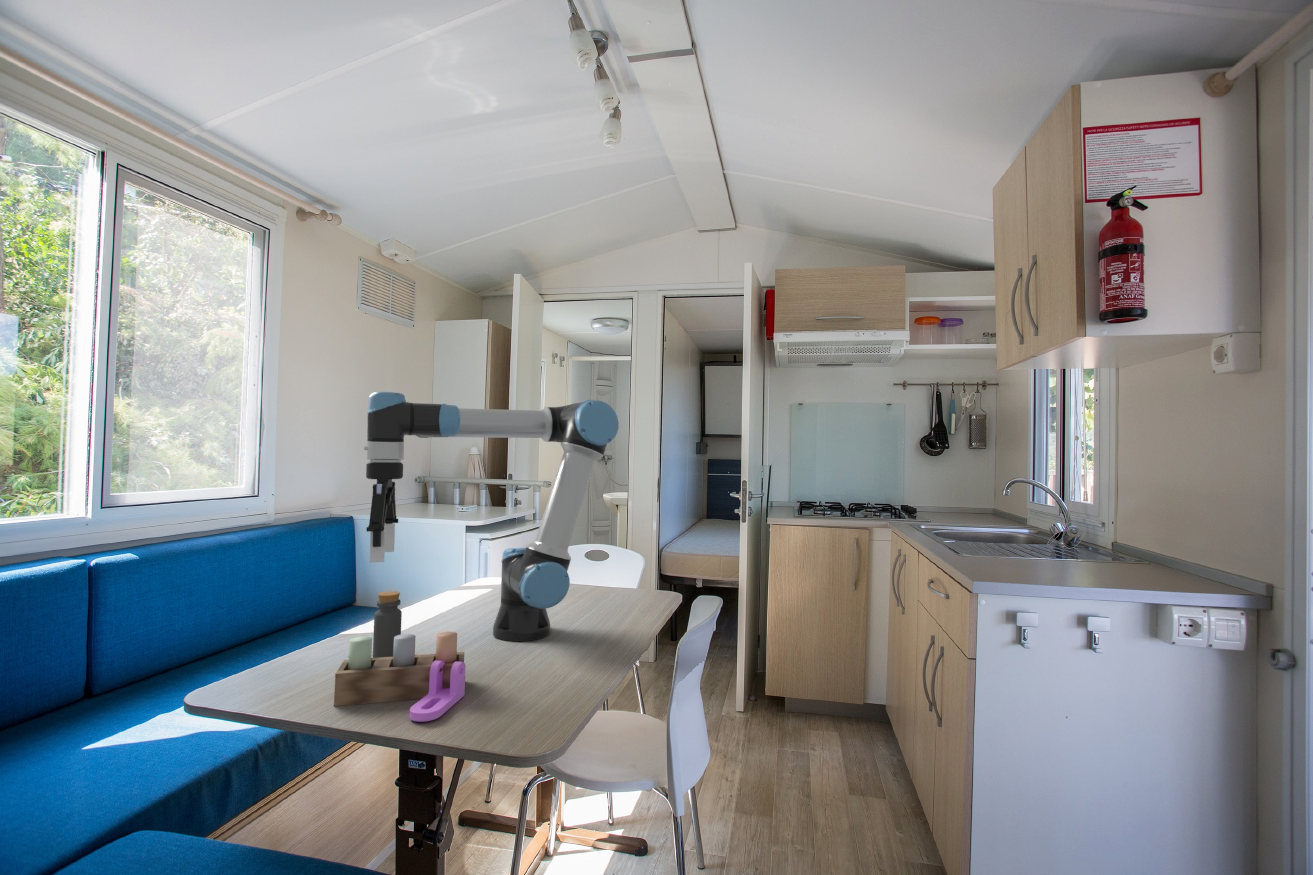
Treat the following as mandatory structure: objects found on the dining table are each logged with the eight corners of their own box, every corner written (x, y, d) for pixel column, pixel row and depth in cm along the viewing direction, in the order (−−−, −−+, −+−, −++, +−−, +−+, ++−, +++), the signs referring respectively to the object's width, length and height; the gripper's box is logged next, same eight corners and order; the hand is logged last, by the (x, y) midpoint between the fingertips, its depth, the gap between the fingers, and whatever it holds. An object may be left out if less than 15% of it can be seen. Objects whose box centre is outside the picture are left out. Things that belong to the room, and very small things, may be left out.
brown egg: (456, 662, 124) (457, 631, 124) (455, 669, 120) (457, 636, 120) (436, 664, 123) (437, 632, 123) (434, 670, 119) (436, 637, 119)
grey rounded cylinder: (415, 665, 122) (416, 633, 122) (413, 672, 118) (414, 639, 118) (393, 667, 120) (395, 634, 121) (391, 673, 117) (392, 640, 117)
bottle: (389, 663, 135) (392, 596, 136) (366, 660, 137) (369, 594, 137) (405, 654, 141) (407, 591, 142) (383, 652, 142) (386, 589, 143)
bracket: (437, 693, 118) (438, 657, 119) (464, 694, 118) (465, 659, 118) (403, 720, 106) (405, 680, 106) (433, 722, 105) (435, 681, 105)
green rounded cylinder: (372, 668, 119) (373, 635, 119) (368, 675, 115) (370, 641, 116) (350, 670, 118) (351, 636, 118) (346, 677, 114) (347, 643, 114)
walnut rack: (463, 680, 126) (464, 651, 126) (462, 694, 118) (463, 664, 119) (342, 690, 119) (344, 659, 120) (333, 706, 112) (335, 673, 112)
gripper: (377, 460, 144) (374, 548, 144) (354, 461, 120) (351, 567, 120) (410, 460, 146) (408, 547, 146) (394, 462, 122) (391, 566, 122)
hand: (382, 556), depth 133 cm, fingers open, 13 cm apart
